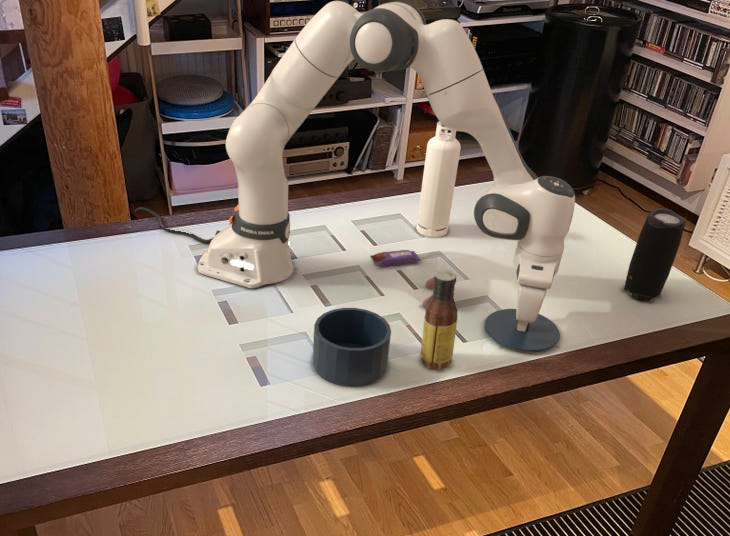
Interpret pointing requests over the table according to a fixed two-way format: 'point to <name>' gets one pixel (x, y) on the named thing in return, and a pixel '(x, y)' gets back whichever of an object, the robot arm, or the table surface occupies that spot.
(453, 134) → the white gas cylinder
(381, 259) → the snack package
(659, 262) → the portable speaker
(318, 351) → the round dark pot
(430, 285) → the video game controller
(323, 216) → the table surface
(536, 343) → the lid
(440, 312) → the sauce bottle
